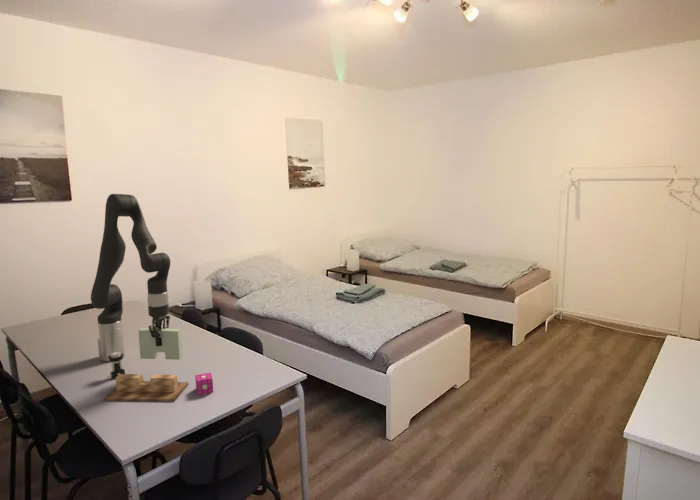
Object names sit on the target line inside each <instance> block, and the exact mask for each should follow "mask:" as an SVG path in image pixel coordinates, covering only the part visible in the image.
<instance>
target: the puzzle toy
mask: <svg viewBox="0 0 700 500" xmlns="http://www.w3.org/2000/svg"><path fill="white" fill-rule="evenodd" d="M194 378H195V390H196V391H195V392H196V394H197V396H200V395H206V394H207V395H208V394H211V393H214V384H213V382H214V381H213V377H212V372H205V373H200V374H196V375H195V376H194Z"/></svg>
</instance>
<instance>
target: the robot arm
mask: <svg viewBox="0 0 700 500" xmlns="http://www.w3.org/2000/svg"><path fill="white" fill-rule="evenodd" d="M104 211H105V212H104V214H105V215H104V228H103V234H102V240H101V245H100V249H99V259H98V264H97V270H96V273H95V274H96V275H95V278H94V281H93V285H92V289H91V292H90V302H91V305H92V306H93V307H94V309H97V310H101V309H103V310H102V312H101V313H100V314H99V315H97V326H98V337H99V338H98V339H97V348H98V357H99V361H103V362H110V361H109V358H108V357H109V356H110V355H111V353H113V352H120V353H122V354H123V358H125V356H126V355H125V354H126V353H125V344H124V333H123V320H122V315H123V310H124V309H123V294H122V291H121V289H120V288H119V286H118V285H117V284H112V281H113V278H114V276H115V275H116V274H117V272H118V271H119V269H120V268H121V266H122V265H123V262H124V259H125V254H126V243H125V240H124V238H123V237H122V234H121V233H120V231H119V227H118V221H119V218H120V217H128V218H131V220H132V222H133V224H132V229H131V240H132V242H133V244H134V246H135V248H136V250H137V252H138V255H139V260H140V267H141V269H142V270H143V272H145V273H155V272H157V273H156V274H155V275H154V276H152V277H149V278H148V279H147V283H146V286H147V309H148V310H147V311H148V316H149V317H151V318H152V320H151V325H149V326H148V328H149V330H150V333H151V336H152V338H155V340H156V346H162V338H161V332H162V331H163V328H170V327H169V326H170V320H171V317H170V315H169V314H170V307H169V306H170V305H169V294H168V285H167V284H168V283H167V281H168V277H169V273H170V272H169V271H170V269H171V258H170V256H169V254H167V253H165V252H158V253H155V251H156V250H157V248H158V247H157V246H158V245H157V242H155V240H154V238H153V236H152V235H151V232H150V231H149V228H148V226H147V223H146V220H145V217H144V215H143V212H142V208H141V206H140V203H139V201H138V199H137V197H135V195H134V194H133V195H132V194H126V193H111V194H109V195H108V197H107V199H106V203H105V210H104ZM158 332H159V333H158Z"/></svg>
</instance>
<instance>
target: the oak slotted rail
mask: <svg viewBox="0 0 700 500" xmlns="http://www.w3.org/2000/svg"><path fill="white" fill-rule="evenodd" d="M143 378H144V375H143V374H139V373H129V374H127V373H125V374H119V375H118V376H117V377H116V378H115V388H114V389H112V391H111V392H109V393H108V394H106V396H104V397H103V401H108V402H109V401H110V402H111V401H112V402H117V401H118V402H176V400H177V399H178V398H179V397H180V395H181V394H182V393H183V392H184V391H185V389H186V388H187V387H188V386H189V382H187V381H178V374H153V375H152V376H151V377H150V378H149V379H150V380H144V379H143Z"/></svg>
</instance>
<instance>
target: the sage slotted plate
mask: <svg viewBox="0 0 700 500" xmlns="http://www.w3.org/2000/svg"><path fill="white" fill-rule="evenodd" d="M137 331H138V342H139V355H140V356H139V357H140V359H141V360H142V359H143V360H145V359H147V360H149V359H150V360H156V358H158V356H159V353H164V356H165V357H164V358H165V360H175V361H176V360H178V361H180V360H181V359H183V339H182V338H183V337H182V328H170V327H169V328H163V331H162V332H161V338H162V346H156V340H155V338H152V336H151V333H150V330H149V327H141V328H139V329H138V330H137ZM158 333H159V332H158Z"/></svg>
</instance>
